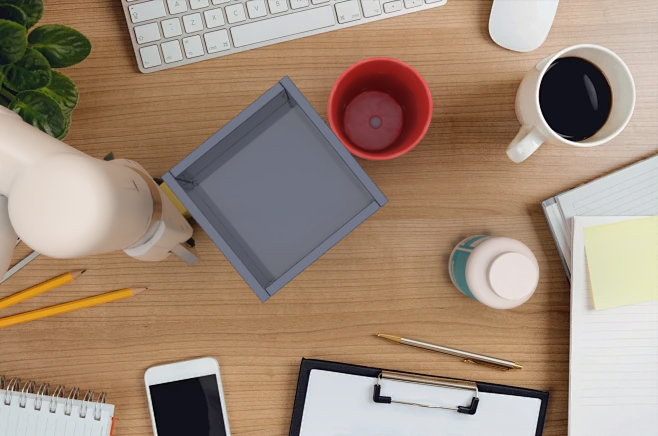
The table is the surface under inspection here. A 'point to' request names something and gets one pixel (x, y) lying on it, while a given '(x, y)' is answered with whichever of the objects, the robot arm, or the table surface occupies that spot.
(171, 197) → the sponge
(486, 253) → the pill bottle
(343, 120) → the flower pot
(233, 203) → the open box
